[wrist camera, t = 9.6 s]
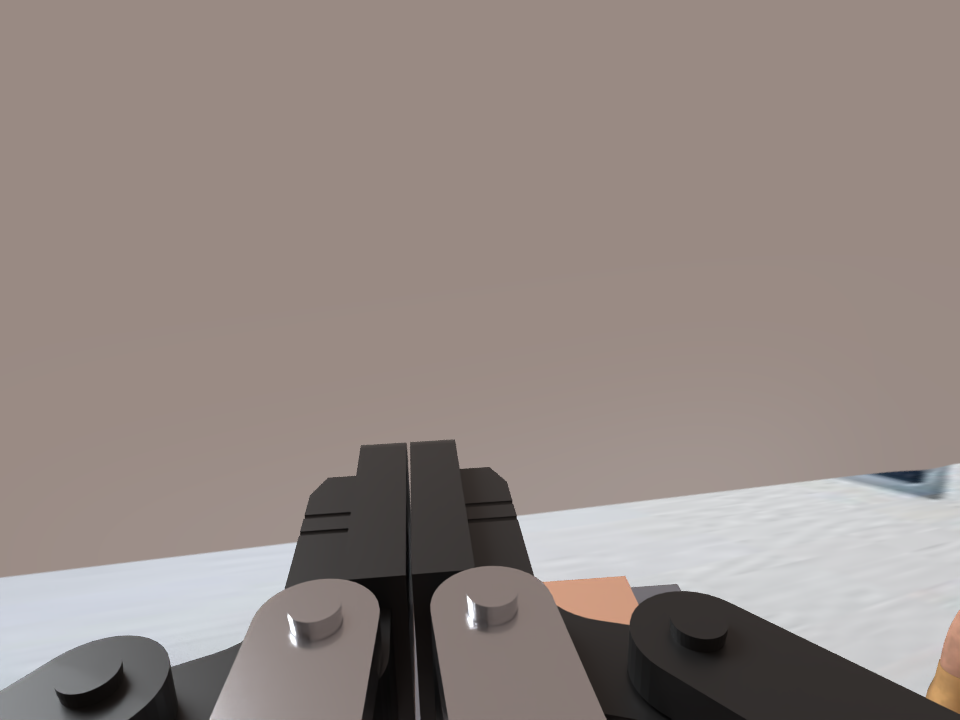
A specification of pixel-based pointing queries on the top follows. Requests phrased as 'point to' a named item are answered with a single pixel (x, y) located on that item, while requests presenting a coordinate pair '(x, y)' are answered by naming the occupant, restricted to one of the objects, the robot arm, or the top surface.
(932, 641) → the top surface
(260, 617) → the robot arm
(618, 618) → the tile
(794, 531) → the top surface
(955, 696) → the ammunition clip
